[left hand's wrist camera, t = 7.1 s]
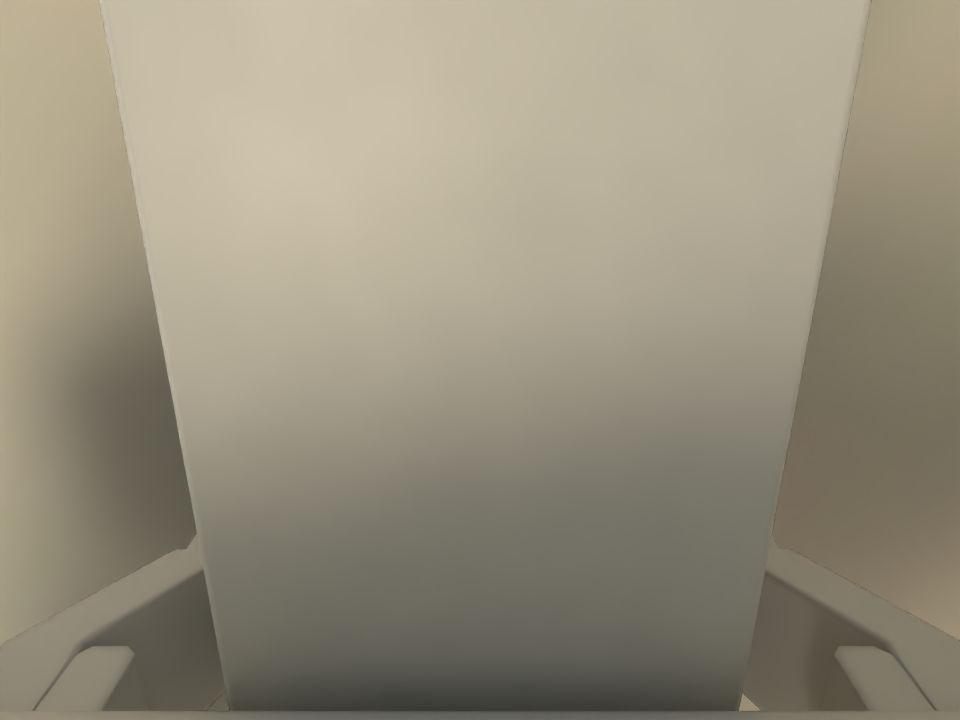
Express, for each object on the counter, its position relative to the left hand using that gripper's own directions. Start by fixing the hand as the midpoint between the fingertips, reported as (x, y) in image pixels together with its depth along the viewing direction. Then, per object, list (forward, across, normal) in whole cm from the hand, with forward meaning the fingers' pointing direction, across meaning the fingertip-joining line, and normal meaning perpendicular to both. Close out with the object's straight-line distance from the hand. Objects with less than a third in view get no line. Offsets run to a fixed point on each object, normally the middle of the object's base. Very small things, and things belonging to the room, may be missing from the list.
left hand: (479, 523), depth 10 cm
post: (+3, 0, -35) cm, 35 cm away
